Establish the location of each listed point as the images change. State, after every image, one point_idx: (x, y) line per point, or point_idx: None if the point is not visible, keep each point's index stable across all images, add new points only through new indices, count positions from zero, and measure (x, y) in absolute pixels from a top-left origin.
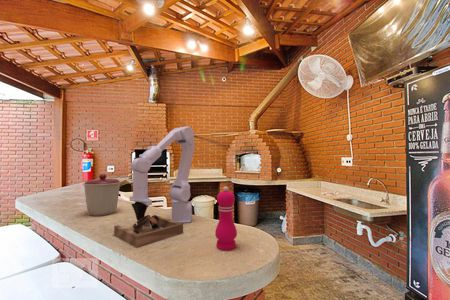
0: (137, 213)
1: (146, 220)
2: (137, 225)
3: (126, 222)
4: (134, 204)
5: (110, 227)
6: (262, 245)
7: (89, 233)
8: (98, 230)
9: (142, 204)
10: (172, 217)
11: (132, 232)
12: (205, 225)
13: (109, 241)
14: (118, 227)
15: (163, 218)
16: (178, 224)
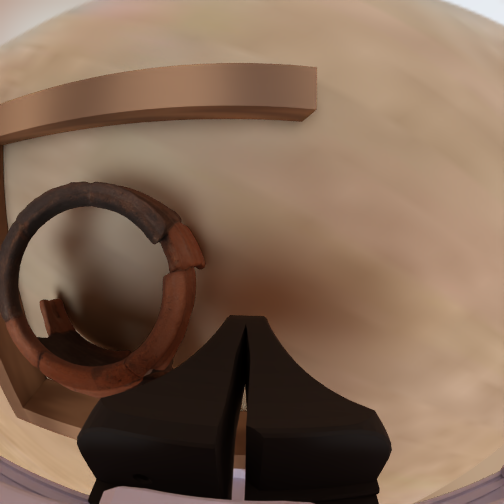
0: (209, 355)
1: (2, 289)
2: (34, 201)
3: (491, 313)
4: (187, 444)
5: (495, 184)
6: None
7: (470, 33)
8: (492, 98)
9: (101, 484)
10: (237, 493)
11: (5, 125)
12: (89, 477)
13: (188, 16)
14: (222, 71)
15: None
16: (15, 404)
